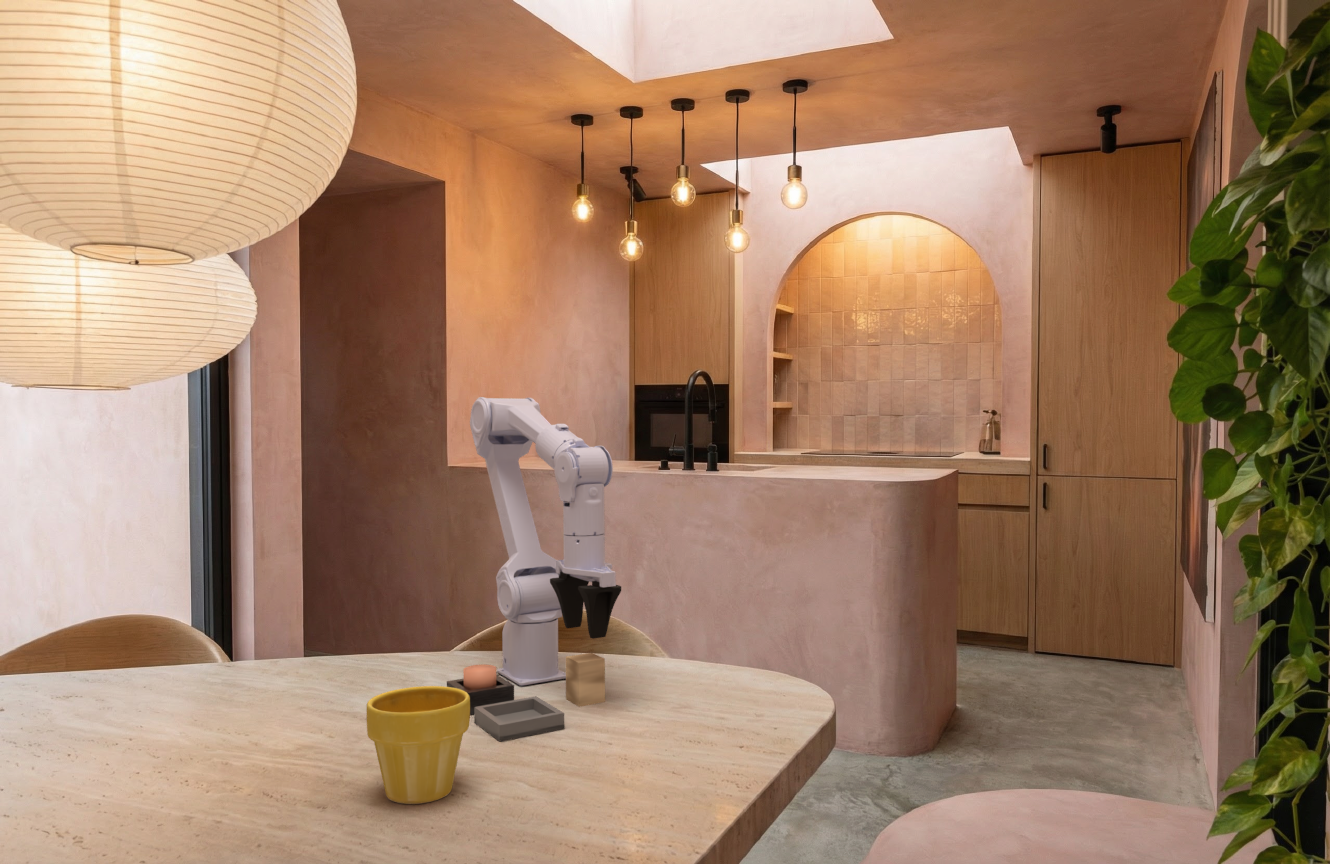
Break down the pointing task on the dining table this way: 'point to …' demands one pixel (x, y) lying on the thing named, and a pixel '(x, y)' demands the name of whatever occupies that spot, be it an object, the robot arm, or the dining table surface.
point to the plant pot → (418, 740)
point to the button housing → (486, 693)
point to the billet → (585, 679)
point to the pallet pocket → (518, 718)
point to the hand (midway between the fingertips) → (585, 632)
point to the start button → (479, 676)
